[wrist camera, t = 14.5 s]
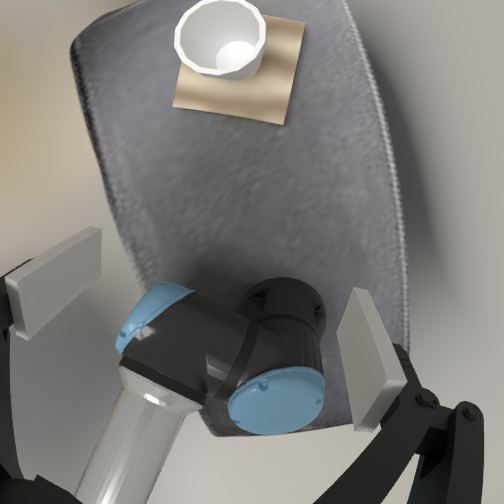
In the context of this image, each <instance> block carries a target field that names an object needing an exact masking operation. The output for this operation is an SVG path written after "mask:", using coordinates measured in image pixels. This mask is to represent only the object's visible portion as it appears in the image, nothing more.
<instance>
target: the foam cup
mask: <svg viewBox="0 0 504 504" xmlns="http://www.w3.org/2000/svg"><path fill="white" fill-rule="evenodd" d="M174 47H175V49H176V51H177V53H178V55H179V57H180V59H181V61H182V62H183V63H185V64H186V65H188V66H189V67H191V68H192V69H193V70H195V71H196V72H198V73H199V74H201V75H202V76H205V77H211V78H217V79H224V80H229V81H235V82H239V81H244V80H248V79H249V78H250V77H252V76H253V75H254V74H256V72H257V70H258V68H259V66H260V64H261V60H262V56H263V53H264V51H265V49H266V48H267V28H266V23H265V21H264V19H263V18H262V16H261V14H260V13H259V11H258V9H257V8H256V7H255V6H253V5H251V4H250V3H248V2H246V1H245V0H203V1H200V2H199V3H197V4H196V5H195V6H193V7H192V8H191V9H189V10H188V11H187V12H185V13H184V15H183V17H182V18H181V20H180V22H179V24H178V25H177V27H176V29H175V45H174Z"/></svg>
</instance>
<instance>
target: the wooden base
mask: <svg viewBox="0 0 504 504" xmlns="http://www.w3.org/2000/svg"><path fill="white" fill-rule="evenodd" d="M261 16H262V18H263V19H264V21H265V23H266V28H267V48H266V49H265V51H264V53H263V56H262V60H261V64H260V66H259V68H258V70H257V72H256V74H254V75H253V76H252V77H250V78H249V79H248V80H244V81H239V82H235V81H229V80H224V79H217V78H211V77H205V76H202V75H201V74H199V73H198V72H196V71H195V70H193V69H192V68H191V67H189V66H188V65H186V64H185V63H183V62H182V64H181V68H180V72H179V77H178V82H177V86H176V91H175V96H174V101H173V106H172V107H176V108H180V109H187V110H195V111H202V112H209V113H216V114H222V115H228V116H234V117H240V118H245V119H251V120H256V121H261V122H266V123H271V124H276V125H280V126H284V122H285V117H286V113H287V108H288V104H289V99H290V94H291V90H292V85H293V80H294V76H295V71H296V67H297V62H298V57H299V53H300V48H301V43H302V39H303V34H304V29H305V22H301V21H296V20H290V19H285V18H279V17H273V16H267V15H261Z"/></svg>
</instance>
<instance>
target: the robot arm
mask: <svg viewBox="0 0 504 504" xmlns="http://www.w3.org/2000/svg"><path fill="white" fill-rule="evenodd" d="M101 235H102V229H100V228H96V227H92V226H90V227H88V228H86V229H84V230H83V231H80V232H79V233H77V234H75V235H73V236H71V237H70V238H68V239H66V240H64V241H63V242H61V243H59V244H57V245H56V246H54V247H52V248H50V249H49V250H47V251H45V252H44V253H42V254H40V255H39V256H37V257H35V258H33V259H29V260H27V261H26V262H24V263H22V264H21V265H19V266H18V267H16V268H15V269H13V270H11V271H10V272H8V273H6V274H5V275H3V276H2V277H0V504H146V503H147V500H148V498H149V496H150V494H151V492H152V490H153V487H154V485H155V483H156V481H157V478H158V476H159V474H160V472H161V469H162V467H163V465H164V463H165V461H166V459H167V456H168V454H169V452H170V450H171V447H172V445H173V443H174V441H175V439H176V436H177V434H178V432H179V429H180V427H181V425H182V423H183V421H184V418H185V416H186V415H188V414H189V413H192V412H194V411H197V410H200V409H202V408H203V406H204V404H205V402H206V399H207V397H208V396H209V397H211V398H214V399H216V400H219V401H221V402H223V403H226V404H228V406H227V407H228V412H229V415H230V417H231V419H232V420H234V422H235V424H236V425H237V426H239V427H240V428H242V429H244V430H246V431H248V432H251V433H255V434H261V435H279V434H284V433H287V432H293V431H296V430H298V429H301V428H303V427H304V426H306V425H308V424H309V423H310V422H312V421H313V420H314V419H315V418H316V417H317V416H318V414H319V413H320V411H321V409H322V407H323V404H324V388H325V380H324V376H323V368H322V361H321V354H320V347H319V342H320V340H321V337H322V335H323V333H324V330H325V326H326V313H325V308H324V304H323V301H322V299H321V298H320V296H319V295H318V293H317V292H316V291H315V290H314V289H313V288H312V287H310V286H309V285H307V284H306V283H304V282H301V281H299V280H296V279H291V278H274V279H269V280H266V281H263V282H261V283H259V284H257V285H256V286H254V287H253V288H252V289H251V290H250V291H249V292H248V293H247V294H246V296H245V297H244V299H243V301H242V303H241V307H240V310H239V313H237V312H235V311H233V310H231V309H229V308H226V307H224V306H222V305H220V304H218V303H216V302H214V301H212V300H210V299H208V298H206V297H204V296H202V295H201V294H199V293H197V291H195V290H190V289H188V288H186V287H183V286H181V285H179V284H177V283H174V282H172V281H163V282H160V283H158V284H156V285H155V286H154V287H152V288H151V289H150V290H149V291H148V292H147V293H146V294H145V295H144V296H143V297H142V299H141V300H140V301H139V302H138V303H137V305H136V306H135V307H134V309H133V310H132V312H131V313H130V315H129V316H128V318H127V319H126V321H125V323H124V325H123V327H122V328H123V329H122V330H121V332H120V333H119V335H118V337H117V340H116V345H115V346H116V349H117V351H118V352H119V354H121V355H123V357H122V359H121V361H120V363H119V366H118V369H119V372H120V375H121V378H122V387H121V389H120V391H119V394H118V396H117V398H116V400H115V402H114V404H113V406H112V408H111V411H110V413H109V415H108V417H107V419H106V422H105V424H104V426H103V428H102V430H101V433H100V435H99V437H98V439H97V442H96V444H95V446H94V449H93V451H92V453H91V455H90V458H89V460H88V462H87V465H86V467H85V469H84V472H83V474H82V476H81V479H80V481H79V484H78V486H77V489H76V491H75V494H74V496H73V495H72V494H71V493H69V492H68V491H66V490H64V489H62V488H60V487H59V486H57V485H55V484H53V483H51V482H49V481H48V480H46V479H44V478H43V477H41V476H39V475H37V476H36V478H35V479H34V481H32V480H27V479H24V477H23V475H22V472H21V470H20V468H19V464H18V459H17V452H16V445H15V439H14V431H13V421H12V412H11V411H12V410H11V395H10V364H9V363H10V331H9V327H10V326H11V325H12V324H13V323H14V327H15V331H16V335H18V336H20V337H22V338H24V339H26V340H28V341H29V340H30V339H31V338H32V337H33V336H34V335H35V334H36V333H38V332H39V331H40V330H41V329H42V328H43V327H44V326H45V325H46V324H47V323H48V322H49V321H50V320H51V319H53V318H54V317H55V316H56V315H57V314H58V313H59V312H60V311H61V310H62V309H63V308H65V307H66V306H67V305H68V304H69V303H70V302H71V301H72V300H73V299H75V298H76V297H77V296H78V295H79V294H80V293H81V292H83V291H84V290H85V289H86V288H87V287H88V286H90V285H91V284H92V283H93V282H94V281H95V280H97V279H98V278H99V277H100V276H101ZM336 334H337V338H338V343H339V348H340V353H341V358H342V363H343V368H344V374H345V379H346V384H347V390H348V395H349V401H350V407H351V413H352V419H353V425H354V431H359V432H373V431H374V430H375V428H376V427H377V426H378V424H379V423H380V425H381V430H380V432H379V433H378V434H377V435H376V437H375V438H374V439H373V440H372V442H371V443H370V444H369V445H368V446H367V448H366V449H365V450H364V451H363V452H362V453H361V454H360V456H359V457H358V458H357V459H356V460H355V461H354V462H353V463H352V465H351V466H350V467H349V468H348V469H347V470H346V471H345V472H344V473H343V474H342V475H341V476H340V477H339V478H338V480H337V481H335V483H334V484H333V485H332V486H331V487H330V488H329V489H328V490H327V491H325V493H324V494H322V495H321V496H320V497H319V498H318V499H317V500H316V501H315V502H314V503H313V504H381V503H382V501H383V500H384V498H385V497H386V496H387V494H388V493H389V491H390V490H391V489H392V487H393V486H394V484H395V483H396V481H397V480H398V478H399V477H400V475H401V474H402V472H403V471H404V469H405V468H406V466H407V465H408V463H409V461H410V460H411V458H412V456H413V455H414V453H415V454H419V455H420V457H419V461H418V465H417V469H416V474H415V477H414V481H413V485H412V488H411V491H410V495H409V498H408V501H407V504H481V497H482V487H483V470H484V419H483V414H482V412H481V411H480V409H479V408H478V407H477V406H476V405H475V404H472V403H471V402H467V401H462V402H460V403H459V404H458V405H457V406H456V407H455V409H450V408H447V407H444V406H441V405H439V404H440V403H439V400H438V398H437V397H436V396H435V394H434V393H432V392H431V391H430V390H428V389H425V388H422V386H421V384H420V382H419V379H418V377H417V375H416V372H415V370H414V368H413V366H412V364H411V362H410V359H409V357H408V355H407V352H406V351H405V350H404V349H403V348H402V347H401V346H400V345H399V344H394V343H391V340H390V338H389V336H388V333H387V331H386V329H385V327H384V324H383V322H382V320H381V318H380V315H379V313H378V311H377V309H376V307H375V305H374V302H373V300H372V298H371V296H370V294H369V292H368V290H365V289H360V288H356V287H354V288H353V291H352V293H351V296H350V299H349V301H348V304H347V307H346V309H345V312H344V314H343V317H342V320H341V322H340V325H339V327H338V330H337V332H336Z"/></svg>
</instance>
